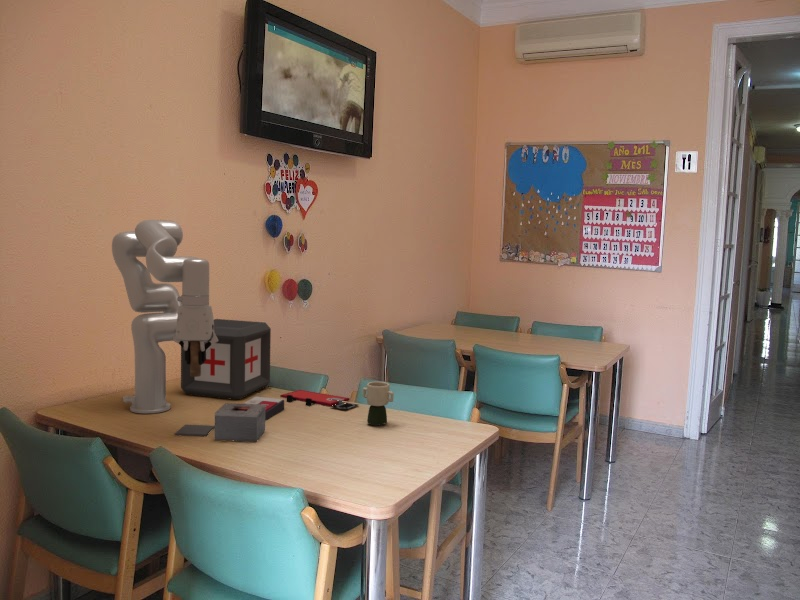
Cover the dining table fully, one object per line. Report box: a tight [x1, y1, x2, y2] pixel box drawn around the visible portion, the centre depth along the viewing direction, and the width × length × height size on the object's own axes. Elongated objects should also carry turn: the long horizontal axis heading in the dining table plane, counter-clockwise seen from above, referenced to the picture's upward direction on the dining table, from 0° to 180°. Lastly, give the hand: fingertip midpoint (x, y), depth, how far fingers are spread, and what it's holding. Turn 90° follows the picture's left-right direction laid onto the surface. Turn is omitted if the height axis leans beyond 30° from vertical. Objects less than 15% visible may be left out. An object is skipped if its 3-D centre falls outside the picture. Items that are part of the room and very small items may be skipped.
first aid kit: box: [180, 318, 272, 400], centre depth 251 cm, size 25×25×25 cm
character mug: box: [362, 381, 394, 426], centre depth 214 cm, size 11×7×13 cm, turn 63°
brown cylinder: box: [190, 341, 201, 377], centre depth 199 cm, size 3×3×12 cm
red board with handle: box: [280, 389, 359, 410], centre depth 241 cm, size 30×3×15 cm
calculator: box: [243, 396, 285, 422], centre depth 223 cm, size 11×4×15 cm
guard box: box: [214, 402, 266, 443], centre depth 198 cm, size 12×11×8 cm
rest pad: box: [174, 424, 215, 437], centre depth 201 cm, size 9×9×1 cm
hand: (195, 363), depth 199 cm, fingers closed on brown cylinder, 3 cm apart
